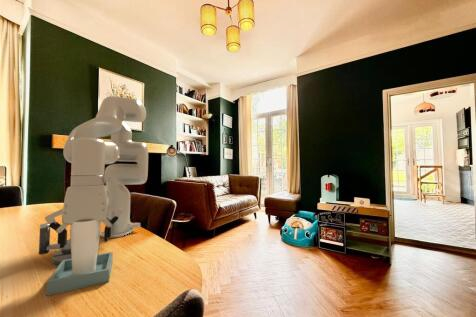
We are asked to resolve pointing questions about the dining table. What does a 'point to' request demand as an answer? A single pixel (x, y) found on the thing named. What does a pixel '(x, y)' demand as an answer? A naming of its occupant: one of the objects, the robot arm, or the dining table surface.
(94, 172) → the robot arm
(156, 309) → the dining table surface
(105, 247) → the dining table surface
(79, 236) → the drinking glass
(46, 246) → the crank
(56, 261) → the crank stand
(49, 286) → the tray
